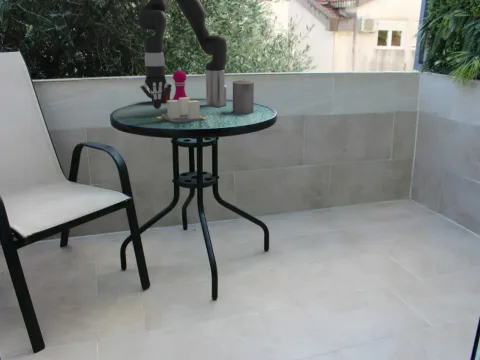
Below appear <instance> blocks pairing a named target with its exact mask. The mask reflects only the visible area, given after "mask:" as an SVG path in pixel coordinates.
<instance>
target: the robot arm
mask: <svg viewBox="0 0 480 360" xmlns="http://www.w3.org/2000/svg"><path fill="white" fill-rule="evenodd" d="M169 1H170V0H148V1H147V3H145V5H144V6H143V7H142V9H140V12H139V14H138V17H137V18H138V19H137V21H138V22H137V23H138V24H139V26H140V29H142V30H147V31H149V30H150V31H155V32H154V34H153V35H150V36H146V37H145V38H144V67H145V68H144V69H145V79H144V83H143V84H141V85H140V86H139V88H140V90H142V92H143V93H144V94H145V96H147V97H148V98H149V99H151V98H152V99H153V103H152V106H153V108H154V109H156V110H158V109H160V108H161V107H162V104H161V98H163V97H165V96H166V94H167V93H168V91H169V90H170V88H171V89H172V84H171V83H168V82H167V80H166V73H165V72H166V69H165V68H166V67H165V64H166V62H165V56H164V37H165V31H166V27H167V23H168V21H167V20H168V19H167V15H166V14H165V11H166V9H167V6H168V4H169ZM175 1H176V4H177V5H178V7H179V8H180V11H181V12H182V15H183V16H184V18H185V19H186V21H187V22H188V23H189V26H190V27H191V29H192V31H193V33H194V35H195V37H196V39H197V41H198V43H199V46H200V47H201V49H202V51H203V53H204V54H205V55H209V56H212V57H211V61H209V62H207V63H206V64H205V100H206V101H205V102H206V103H205V104H206V106H209V107H215V108H216V107H217V108H218V107H225V106H227V85H226V82H225V79H226V77H225V76H226V75H225V73H226V71H225V69H226V68H225V67H226V64H227V51H228V50H227V49H228V44H227V40H226V38H225V37H224V36H223V35H217V34H216V35H215V34H211V33H210V32H209V29H208V27H207V26H206V11H205V7H204V6H203V4H202V3H201V0H175ZM164 85H165V86H164ZM163 87H165V88H164V90H163V91H162V89H163ZM149 89H150V90H151V93H152V95H151V94H150V91H149ZM152 99H151V100H152Z"/></svg>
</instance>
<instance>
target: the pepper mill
mask: <svg viewBox="0 0 480 360" xmlns="http://www.w3.org/2000/svg"><path fill="white" fill-rule="evenodd" d="M172 79H173V81H174V82H173V83H174V86H175V93H174V95H173V97H172V100H178V101H179V98H183V97H188V96H187V94H186V89H185V86H186V80H187V74H186V73H185V71H182V68H181V67H180V66H179V67H178V68H177V71H175V72H174V73H173V75H172Z"/></svg>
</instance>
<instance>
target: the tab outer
mask: <svg viewBox="0 0 480 360" xmlns="http://www.w3.org/2000/svg"><path fill="white" fill-rule="evenodd" d="M187 105H188V119H195V118H200V115H201V112H200V111H201V110H200V109H201V106H200V105H201V103H200V101H199V100H190V101H187Z"/></svg>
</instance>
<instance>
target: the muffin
mask: <svg viewBox="0 0 480 360" xmlns="http://www.w3.org/2000/svg"><path fill="white" fill-rule="evenodd" d="M164 86H165V85H164ZM164 88H165V87H163V89H162V91H163V90H164ZM148 91H149V93H150V94H151V95H152V93H151V90H150V89H149V88H148ZM171 92H172V87H171V88H170V90H169V91H168V93H167V94H166V96H165V97H163V98H161V103H164V104H167V101H168V100H171ZM150 99H151V102H152V104H153V99H152V98H150Z"/></svg>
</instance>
